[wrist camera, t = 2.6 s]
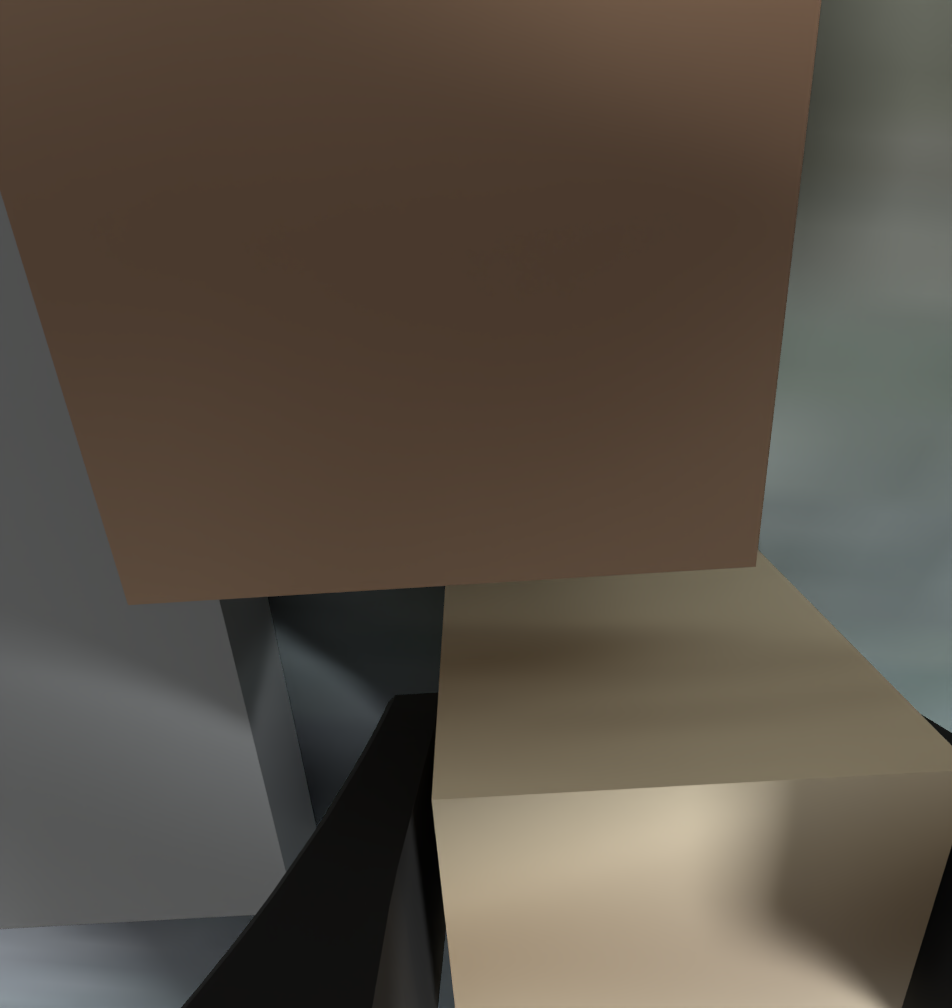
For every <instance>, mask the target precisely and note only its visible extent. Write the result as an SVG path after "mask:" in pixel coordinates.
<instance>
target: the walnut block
mask: <svg viewBox="0 0 952 1008" xmlns="http://www.w3.org/2000/svg"><path fill="white" fill-rule="evenodd" d="M820 8H821V0H0V192H1V195H2V199H3V202H4V205H5V208H6V212H7V215H8V218H9V221H10V225H11V228H12V231H13V234H14V237H15V241H16V244H17V247H18V250H19V254H20V257H21V260H22V263H23V267H24V270H25V273H26V276H27V280H28V283H29V286H30V289H31V293H32V296H33V299H34V302H35V305H36V309H37V312H38V315H39V318H40V322H41V325H42V328H43V331H44V335H45V338H46V341H47V344H48V348H49V351H50V354H51V357H52V361H53V364H54V367H55V370H56V373H57V377H58V380H59V383H60V386H61V390H62V393H63V396H64V399H65V403H66V406H67V409H68V412H69V416H70V419H71V422H72V425H73V429H74V432H75V435H76V438H77V441H78V445H79V448H80V451H81V454H82V458H83V461H84V464H85V467H86V471H87V474H88V477H89V480H90V484H91V487H92V490H93V493H94V497H95V500H96V503H97V506H98V509H99V513H100V516H101V519H102V522H103V526H104V529H105V532H106V535H107V539H108V542H109V545H110V548H111V552H112V555H113V558H114V561H115V564H116V568H117V571H118V574H119V577H120V581H121V584H122V587H123V590H124V594H125V597H126V600H127V603H128V605H139V604H155V603H171V602H188V601H204V600H221V599H237V598H253V597H270V596H286V595H303V594H319V593H335V592H352V591H368V590H385V589H401V588H417V587H434V586H450V585H467V584H483V583H499V582H516V581H532V580H549V579H565V578H581V577H598V576H614V575H631V574H647V573H663V572H680V571H696V570H713V569H729V568H745V567H756V560H757V552H758V543H759V534H760V526H761V517H762V509H763V500H764V491H765V483H766V474H767V465H768V457H769V448H770V440H771V431H772V422H773V414H774V405H775V397H776V388H777V379H778V371H779V362H780V353H781V345H782V336H783V328H784V319H785V310H786V302H787V293H788V284H789V276H790V267H791V259H792V250H793V241H794V233H795V224H796V215H797V207H798V198H799V190H800V181H801V172H802V164H803V155H804V146H805V138H806V129H807V121H808V112H809V103H810V95H811V86H812V77H813V69H814V60H815V52H816V43H817V34H818V26H819V17H820Z"/></svg>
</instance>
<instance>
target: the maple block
mask: <svg viewBox="0 0 952 1008" xmlns="http://www.w3.org/2000/svg"><path fill="white" fill-rule="evenodd" d="M432 808H433V817H434V826H435V834H436V843H437V852H438V861H439V870H440V878H441V887H442V896H443V905H444V914H445V923H446V931H447V940H448V949H449V958H450V967H451V975H452V984H453V993H454V1002H455V1008H902V1005H903V1002H904V999H905V995H906V992H907V989H908V986H909V982H910V979H911V976H912V973H913V969H914V966H915V963H916V960H917V956H918V953H919V950H920V947H921V943H922V940H923V937H924V934H925V930H926V927H927V924H928V921H929V918H930V914H931V911H932V908H933V905H934V901H935V898H936V895H937V892H938V888H939V885H940V882H941V879H942V875H943V872H944V869H945V866H946V862H947V859H948V856H949V853H950V850H951V846H952V745H951V744H950V743H949V742H948V741H947V740H946V739H945V738H944V737H943V736H942V735H941V734H940V733H939V732H938V731H937V730H936V729H935V728H934V727H933V726H932V725H931V724H930V723H929V722H928V721H927V720H926V719H925V718H924V717H923V716H922V715H921V714H920V713H919V712H918V711H917V710H916V709H915V708H914V707H913V706H912V705H911V704H910V703H909V702H908V701H907V700H906V699H905V698H904V697H903V696H902V695H901V694H900V693H899V692H898V691H897V690H896V689H895V688H894V687H893V686H892V685H891V684H890V683H889V682H888V681H887V680H886V679H885V678H884V677H883V676H882V675H881V674H880V673H879V672H878V671H877V670H876V669H875V668H874V667H873V666H872V665H871V664H870V663H869V662H868V661H867V660H866V659H865V658H864V657H863V656H862V655H861V654H860V653H859V652H858V650H857V649H856V648H855V647H854V646H853V645H852V644H851V643H850V642H849V641H848V640H847V639H846V638H845V637H844V636H843V635H842V634H841V633H840V632H839V631H838V630H837V629H836V628H835V627H834V626H833V625H832V624H831V623H830V622H829V621H828V620H827V619H826V618H825V617H824V616H823V615H822V614H821V613H820V612H819V611H818V610H817V609H816V608H815V607H814V606H813V605H812V604H811V603H810V602H809V601H808V600H807V599H806V598H805V597H804V596H803V595H802V594H801V593H800V592H799V591H798V590H797V589H796V588H795V587H794V586H793V585H792V584H791V583H790V582H789V581H788V580H787V579H786V578H785V577H784V576H783V575H782V574H781V573H780V572H779V571H778V570H777V569H776V568H775V567H774V566H773V565H772V564H771V563H770V562H769V561H768V560H767V559H766V558H765V556H764V555H763V554H762V553H761V552H760V551H759V550H758V552H757V560H756V567H745V568H729V569H713V570H696V571H680V572H663V573H647V574H631V575H614V576H598V577H581V578H565V579H549V580H532V581H516V582H499V583H483V584H467V585H450V586H445V598H444V614H443V630H442V645H441V661H440V676H439V692H438V708H437V723H436V739H435V754H434V770H433V785H432Z"/></svg>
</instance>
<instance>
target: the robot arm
mask: <svg viewBox="0 0 952 1008" xmlns="http://www.w3.org/2000/svg"><path fill="white" fill-rule="evenodd" d="M437 708H438V693H424V694H407V695H395V696H394V697H393V698H392V699H391V700H390V701H389V702H388V704H387V706H386V708H385V711H384V713H383V715H382V717H381V719H380V721H379V723H378V725H377V727H376V729H375V730H374V732H373V734H372V736H371V738H370V740H369V742H368V743H367V745H366V747H365V749H364V751H363V752H362V754H361V756H360V758H359V759H358V761H357V763H356V765H355V766H354V768H353V770H352V772H351V773H350V775H349V777H348V778H347V780H346V782H345V783H344V785H343V786H342V788H341V790H340V791H339V793H338V795H337V796H336V798H335V799H334V801H333V803H332V804H331V806H330V807H329V809H328V811H327V812H326V814H325V816H324V817H323V819H322V820H321V822H320V823H319V825H318V826H317V828H316V830H315V831H314V833H313V834H312V836H311V837H310V838H309V840H308V841H307V843H306V844H305V846H304V847H303V849H302V850H301V851H300V853H299V854H298V856H297V857H296V859H295V860H294V862H293V863H292V864H291V866H290V867H289V869H288V870H287V872H286V873H285V875H284V876H283V877H282V879H281V880H280V882H279V883H278V885H277V886H276V888H275V889H274V890H273V892H272V893H271V895H270V896H269V897H268V899H267V900H266V901H265V903H264V904H263V905H262V907H261V908H260V909H259V911H258V912H257V913H256V915H255V916H254V917H253V919H252V920H251V921H250V923H249V924H248V925H247V927H246V928H245V929H244V931H243V932H242V933H241V935H240V936H239V937H238V938H237V940H236V941H235V942H234V944H233V945H232V946H231V947H230V949H229V950H228V951H227V952H226V954H225V955H224V956H223V957H222V959H221V960H220V961H219V962H218V964H217V965H216V966H215V967H214V969H213V970H212V971H211V972H210V974H209V975H208V976H207V977H206V979H205V980H204V981H203V982H202V984H201V985H200V986H199V987H198V988H197V990H196V991H195V992H194V993H193V994H192V996H191V997H190V998H189V999H188V1000H187V1001H186V1003H185V1004H184V1005H183V1006H182V1007H181V1008H438V1002H439V991H440V981H441V971H442V961H443V951H444V941H445V931H446V923H445V914H444V905H443V896H442V887H441V878H440V870H439V861H438V852H437V843H436V834H435V826H434V817H433V808H432V785H433V770H434V754H435V739H436V723H437ZM922 716H923V715H922ZM923 717H924V716H923ZM924 718H925V719H926V720H927V721H928V722H929V723H930V724H931V725H932V726H933V727H934V728H935V729H936V730H937V731H938V732H939V733H940V734H941V735H942V736H943V737H944V738H945V739H946V740H947V741H948V742H949V743H950V744H951V745H952V733H951V732H949V731H948V730H946V729H944V728H943V727H941V726H939V725H938V724H936V723H934V722H933V721H931V720H929V719H928V718H926V717H924ZM902 1008H952V846H951V850H950V853H949V856H948V859H947V862H946V866H945V869H944V872H943V875H942V879H941V882H940V885H939V888H938V892H937V895H936V898H935V901H934V905H933V908H932V911H931V914H930V918H929V921H928V924H927V927H926V930H925V934H924V937H923V940H922V943H921V947H920V950H919V953H918V956H917V960H916V963H915V966H914V969H913V973H912V976H911V979H910V982H909V986H908V989H907V992H906V995H905V999H904V1002H903V1005H902Z"/></svg>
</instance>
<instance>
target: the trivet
mask: <svg viewBox="0 0 952 1008" xmlns="http://www.w3.org/2000/svg"><path fill="white" fill-rule="evenodd" d="M315 830H316V823H315V819H314V814H313V809H312V804H311V800H310V795H309V790H308V785H307V781H306V776H305V771H304V767H303V762H302V757H301V752H300V748H299V743H298V738H297V734H296V729H295V724H294V719H293V715H292V710H291V705H290V701H289V696H288V691H287V686H286V682H285V677H284V672H283V667H282V663H281V658H280V653H279V649H278V644H277V639H276V634H275V630H274V625H273V620H272V616H271V611H270V606H269V601H268V597H253V598H237V599H221V600H204V601H188V602H171V603H155V604H139V605H128V603H127V600H126V597H125V594H124V590H123V587H122V584H121V581H120V577H119V574H118V571H117V568H116V564H115V561H114V558H113V555H112V552H111V548H110V545H109V542H108V539H107V535H106V532H105V529H104V526H103V522H102V519H101V516H100V513H99V509H98V506H97V503H96V500H95V497H94V493H93V490H92V487H91V484H90V480H89V477H88V474H87V471H86V467H85V464H84V461H83V458H82V454H81V451H80V448H79V445H78V441H77V438H76V435H75V432H74V429H73V425H72V422H71V419H70V416H69V412H68V409H67V406H66V403H65V399H64V396H63V393H62V390H61V386H60V383H59V380H58V377H57V373H56V370H55V367H54V364H53V361H52V357H51V354H50V351H49V348H48V344H47V341H46V338H45V335H44V331H43V328H42V325H41V322H40V318H39V315H38V312H37V309H36V305H35V302H34V299H33V296H32V293H31V289H30V286H29V283H28V280H27V276H26V273H25V270H24V267H23V263H22V260H21V257H20V254H19V250H18V247H17V244H16V241H15V237H14V234H13V231H12V228H11V225H10V221H9V218H8V215H7V212H6V208H5V205H4V202H3V199H2V195H1V192H0V929H9V928H28V927H46V926H64V925H82V924H100V923H118V922H136V921H154V920H172V919H190V918H208V917H227V916H245V915H256V913H257V912H258V911H259V909H260V908H261V907H262V905H263V904H264V903H265V901H266V900H267V899H268V897H269V896H270V895H271V893H272V892H273V890H274V889H275V888H276V886H277V885H278V883H279V882H280V880H281V879H282V877H283V876H284V875H285V873H286V872H287V870H288V869H289V867H290V866H291V864H292V863H293V862H294V860H295V859H296V857H297V856H298V854H299V853H300V851H301V850H302V849H303V847H304V846H305V844H306V843H307V841H308V840H309V838H310V837H311V836H312V834H313V833H314V831H315Z"/></svg>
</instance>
